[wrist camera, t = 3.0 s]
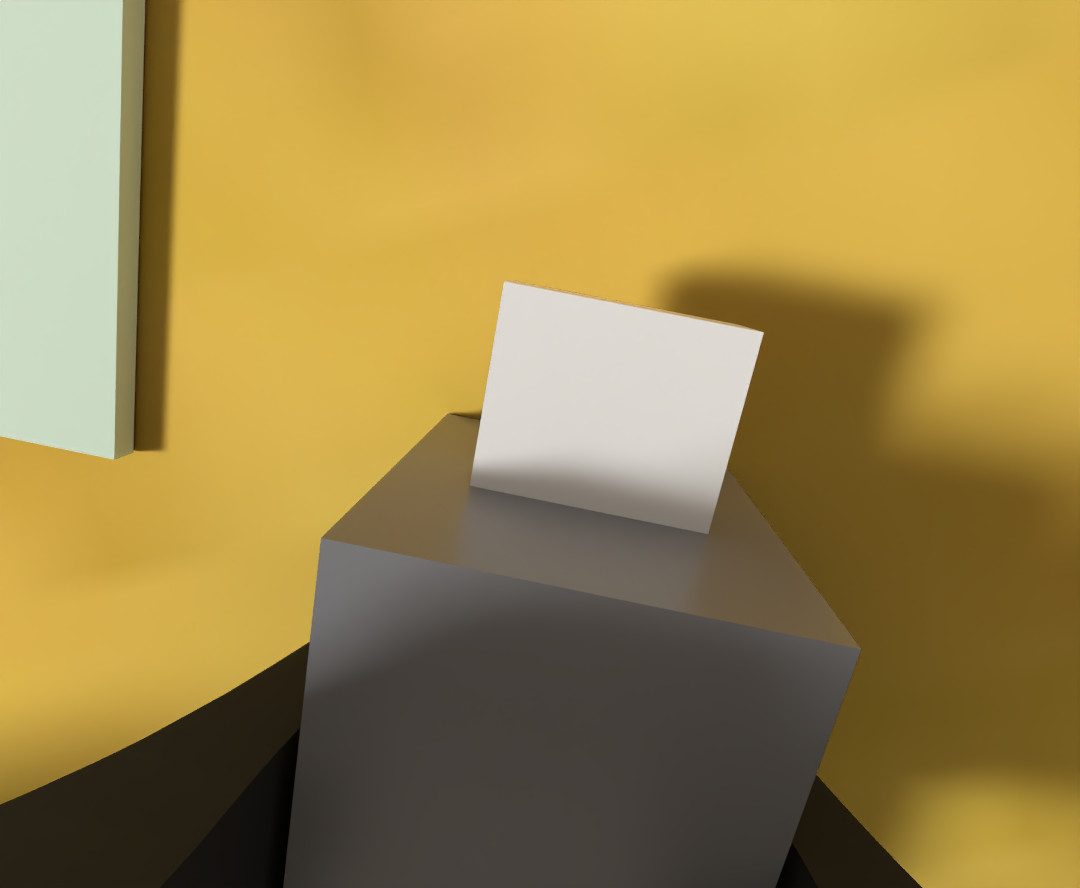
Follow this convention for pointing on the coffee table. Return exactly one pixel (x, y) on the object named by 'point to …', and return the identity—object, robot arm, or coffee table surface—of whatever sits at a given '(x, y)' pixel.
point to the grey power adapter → (567, 631)
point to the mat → (70, 221)
